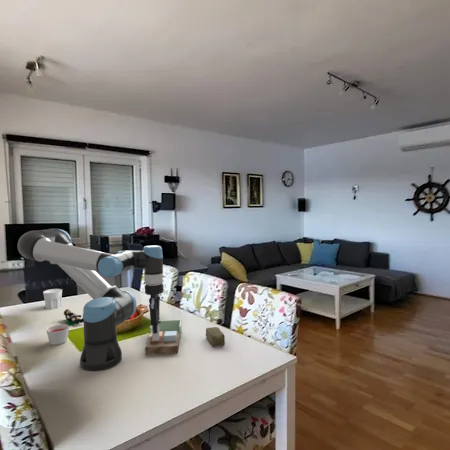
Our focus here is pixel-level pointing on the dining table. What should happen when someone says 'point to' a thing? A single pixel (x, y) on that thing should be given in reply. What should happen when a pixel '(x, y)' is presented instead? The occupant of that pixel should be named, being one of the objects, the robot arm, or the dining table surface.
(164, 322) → the tray
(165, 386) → the dining table surface
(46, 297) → the cup
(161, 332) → the tile terracotta
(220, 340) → the stone block
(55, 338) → the candle
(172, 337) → the pale blue square block
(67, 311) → the figurine
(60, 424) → the dining table surface
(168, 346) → the board
